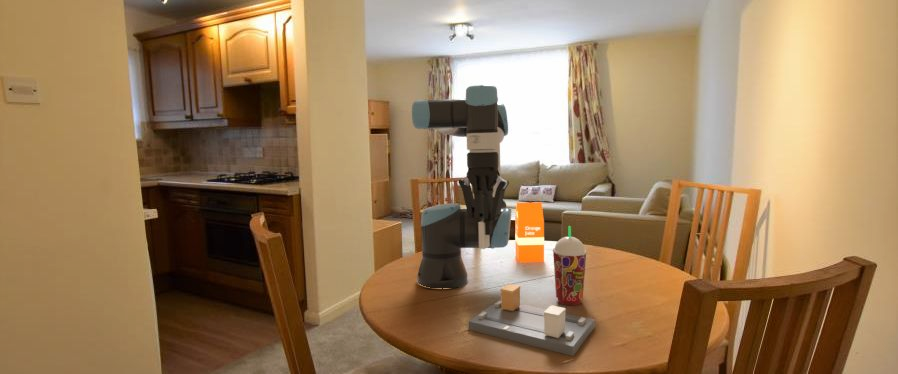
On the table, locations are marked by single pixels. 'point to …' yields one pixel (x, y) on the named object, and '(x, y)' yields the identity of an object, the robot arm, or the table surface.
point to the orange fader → (510, 297)
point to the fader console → (532, 327)
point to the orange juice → (529, 232)
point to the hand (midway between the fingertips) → (484, 247)
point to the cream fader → (554, 321)
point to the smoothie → (569, 269)
